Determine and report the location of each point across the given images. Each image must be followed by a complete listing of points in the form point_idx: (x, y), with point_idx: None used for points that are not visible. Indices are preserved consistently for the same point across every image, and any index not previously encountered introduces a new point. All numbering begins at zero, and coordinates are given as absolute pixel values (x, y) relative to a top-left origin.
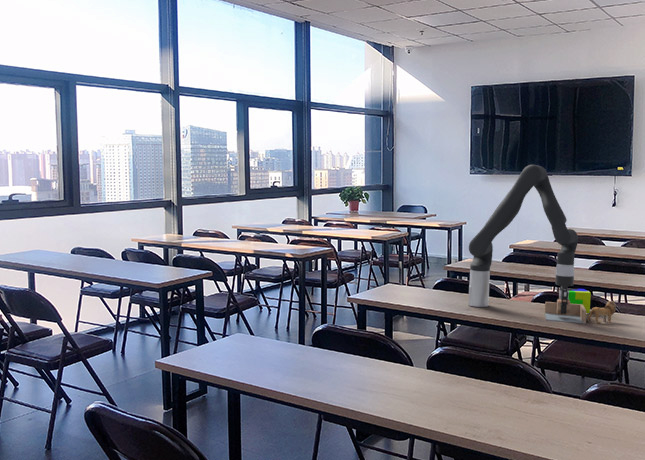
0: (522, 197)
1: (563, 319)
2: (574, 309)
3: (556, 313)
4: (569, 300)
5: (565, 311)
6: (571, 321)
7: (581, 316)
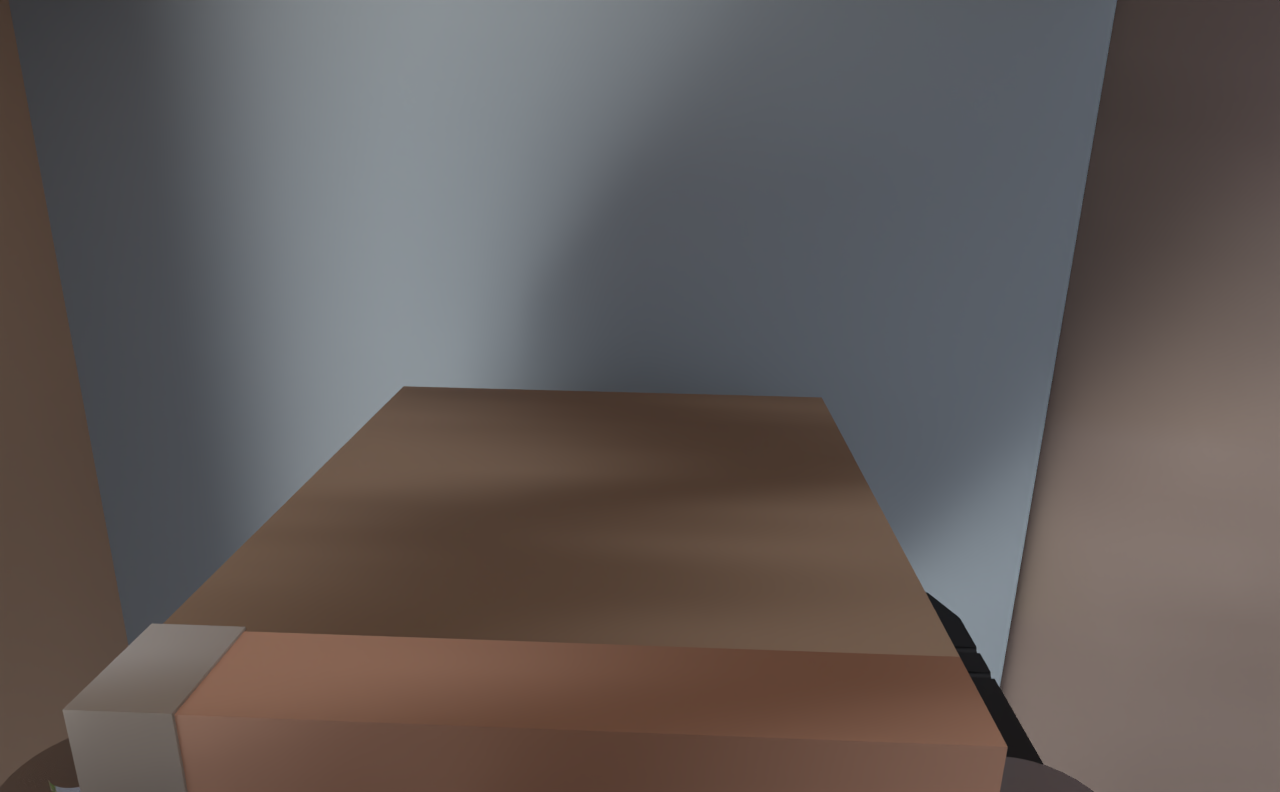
0: None
1: None
2: None
3: (114, 631)
4: (355, 728)
5: (962, 625)
6: (1061, 321)
7: None
